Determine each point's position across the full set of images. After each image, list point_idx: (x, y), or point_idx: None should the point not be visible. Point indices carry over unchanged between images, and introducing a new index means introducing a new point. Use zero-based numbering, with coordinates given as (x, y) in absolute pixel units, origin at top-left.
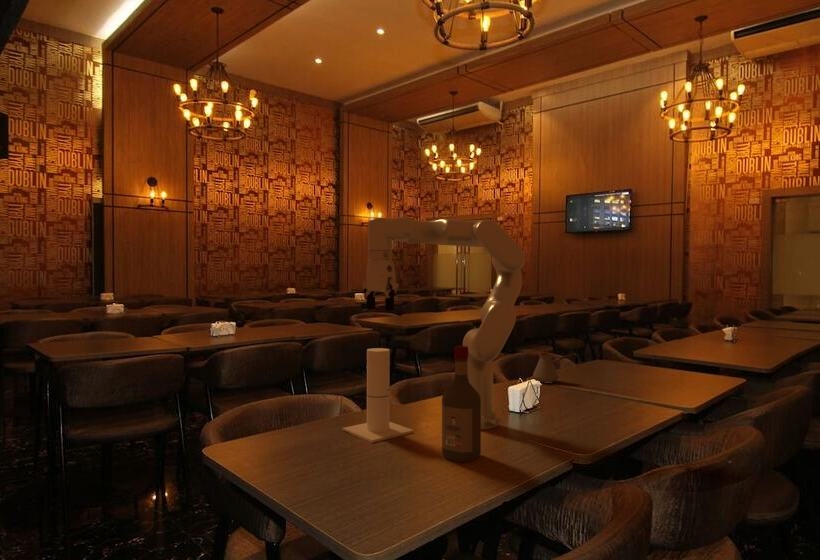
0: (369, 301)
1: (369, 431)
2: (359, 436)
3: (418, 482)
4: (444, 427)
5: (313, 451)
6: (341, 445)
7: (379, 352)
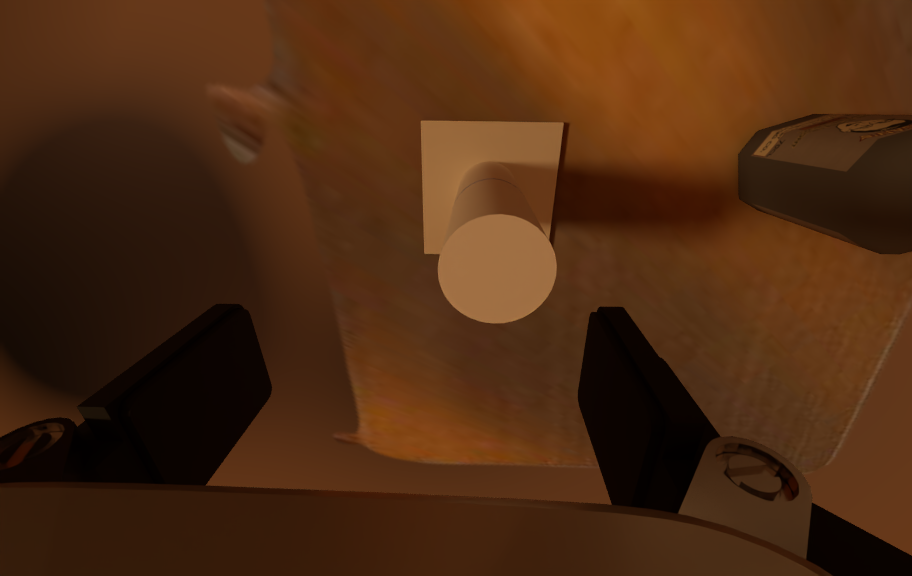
0: (215, 443)
1: None
2: None
3: (766, 320)
4: (807, 227)
5: (503, 358)
6: None
7: (543, 298)
